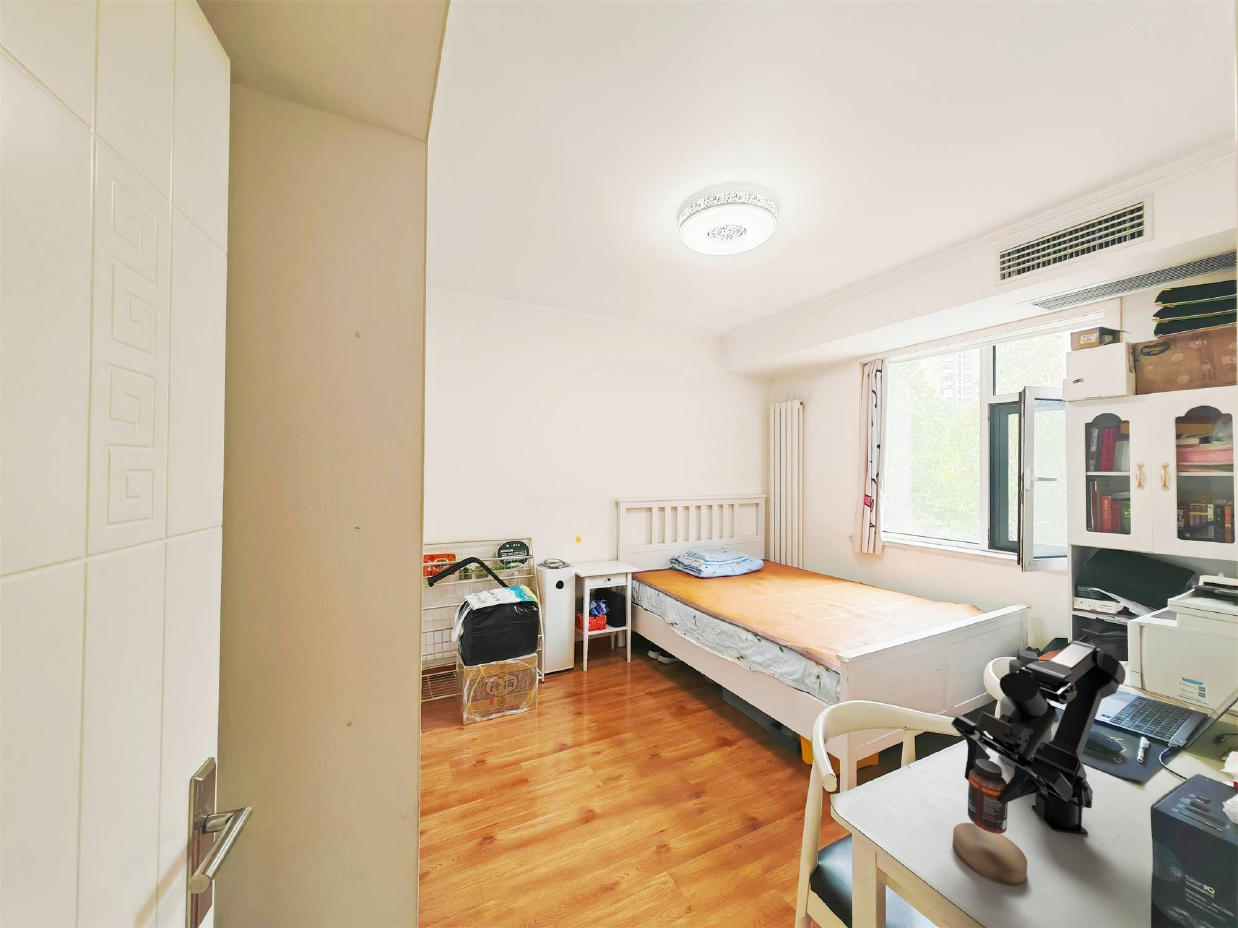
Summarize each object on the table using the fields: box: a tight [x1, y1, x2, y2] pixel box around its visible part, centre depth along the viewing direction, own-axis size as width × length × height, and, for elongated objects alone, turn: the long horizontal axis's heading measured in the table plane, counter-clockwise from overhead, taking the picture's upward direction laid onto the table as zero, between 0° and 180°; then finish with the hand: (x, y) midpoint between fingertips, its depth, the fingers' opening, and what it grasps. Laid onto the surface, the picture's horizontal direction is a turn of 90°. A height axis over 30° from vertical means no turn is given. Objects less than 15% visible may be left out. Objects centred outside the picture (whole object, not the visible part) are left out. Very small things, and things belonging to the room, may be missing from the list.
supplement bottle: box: [967, 759, 1009, 834], centre depth 89 cm, size 6×6×11 cm
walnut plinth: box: [952, 822, 1028, 886], centre depth 88 cm, size 11×11×2 cm
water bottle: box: [998, 648, 1052, 769], centre depth 117 cm, size 10×10×28 cm
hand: (982, 790), depth 88 cm, fingers closed on supplement bottle, 6 cm apart
